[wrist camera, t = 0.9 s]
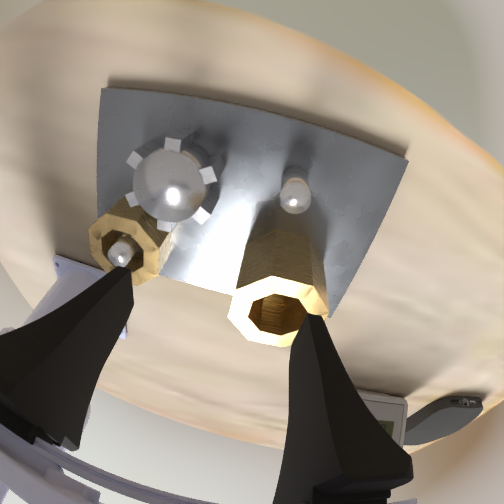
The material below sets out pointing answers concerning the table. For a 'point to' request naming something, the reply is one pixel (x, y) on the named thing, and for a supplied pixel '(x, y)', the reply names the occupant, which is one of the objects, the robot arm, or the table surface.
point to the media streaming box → (441, 419)
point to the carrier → (229, 188)
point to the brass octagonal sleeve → (278, 287)
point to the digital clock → (387, 412)
